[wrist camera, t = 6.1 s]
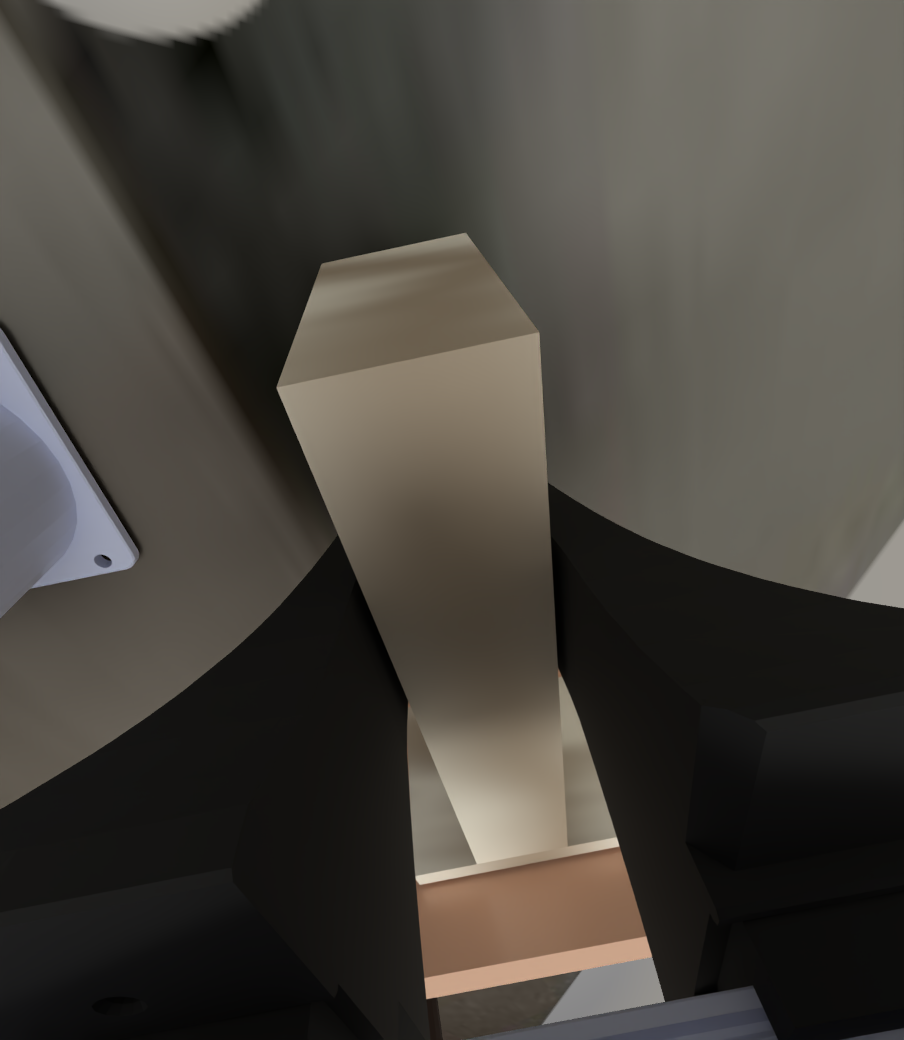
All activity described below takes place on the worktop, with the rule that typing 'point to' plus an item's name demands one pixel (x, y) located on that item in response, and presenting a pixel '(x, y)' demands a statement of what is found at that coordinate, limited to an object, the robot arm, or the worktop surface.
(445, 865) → the tall cream square post
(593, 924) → the glazed tile
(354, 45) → the worktop surface
